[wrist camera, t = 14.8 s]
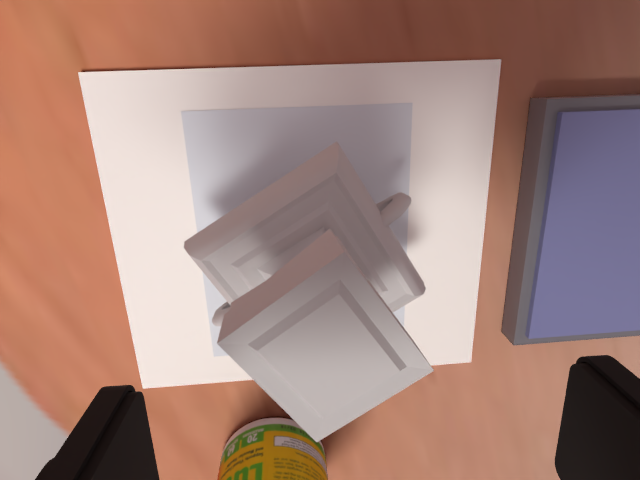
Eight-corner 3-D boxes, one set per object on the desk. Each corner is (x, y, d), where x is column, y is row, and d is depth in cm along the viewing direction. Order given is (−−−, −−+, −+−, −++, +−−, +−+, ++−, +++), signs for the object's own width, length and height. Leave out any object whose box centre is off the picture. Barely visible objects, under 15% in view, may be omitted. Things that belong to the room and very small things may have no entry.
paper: (498, 59, 17) (502, 59, 17) (469, 359, 22) (471, 362, 22) (80, 72, 16) (77, 72, 16) (144, 385, 21) (142, 389, 21)
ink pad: (734, 90, 19) (772, 91, 17) (672, 318, 22) (698, 334, 21) (530, 97, 18) (552, 99, 16) (501, 331, 22) (516, 349, 20)
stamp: (353, 115, 17) (415, 141, 9) (431, 244, 19) (534, 355, 12) (172, 237, 18) (90, 355, 10) (264, 347, 20) (255, 513, 13)
